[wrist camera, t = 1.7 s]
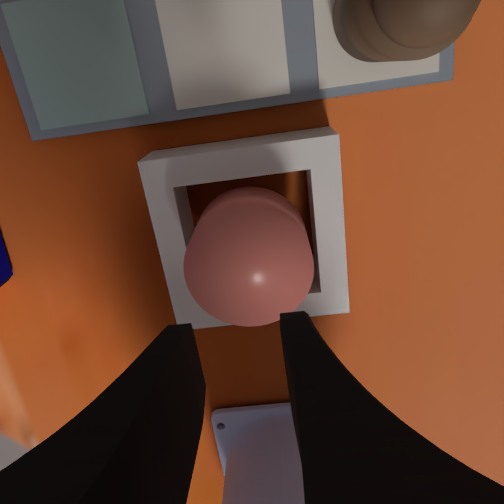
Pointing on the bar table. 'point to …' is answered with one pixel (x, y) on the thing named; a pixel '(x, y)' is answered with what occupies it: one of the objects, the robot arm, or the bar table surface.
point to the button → (249, 257)
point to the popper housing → (243, 166)
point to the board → (182, 60)
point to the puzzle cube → (4, 265)
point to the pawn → (399, 27)
